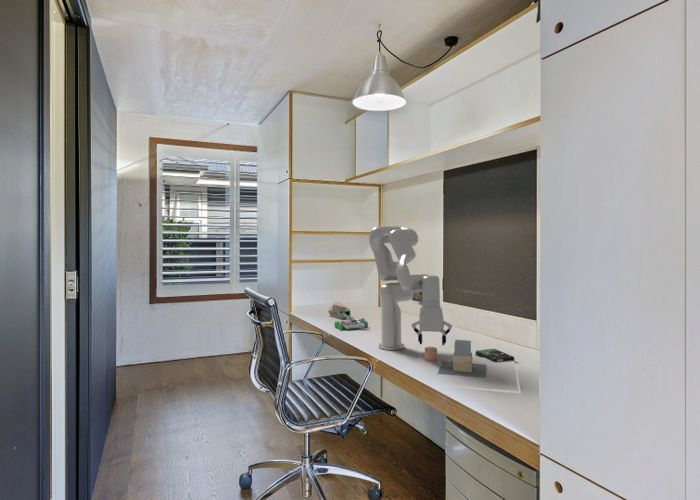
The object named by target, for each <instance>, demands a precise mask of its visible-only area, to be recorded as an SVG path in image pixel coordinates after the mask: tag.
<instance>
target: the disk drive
mask: <svg viewBox="0 0 700 500" xmlns="http://www.w3.org/2000/svg"><path fill="white" fill-rule="evenodd" d="M475 356H477V357H479V358H485V359H487V360H489V361H491V362H493V363H497V362H499V363H500V362H507V361H515V356H513V355H510V354H509V353H506V352H503V351H501V350H498V349H497V348H489V349H487V348H486V349H480V350H478V349H477V350H475Z"/></svg>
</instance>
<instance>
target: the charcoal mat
mask: <svg viewBox="0 0 700 500" xmlns="http://www.w3.org/2000/svg"><path fill="white" fill-rule="evenodd" d="M487 366H488V365H487V364H483V363H472V371H471V372H462V371H453V361H448V360H447V361H444V360H442V362H441V364H440V366H439V369H438V372H437V373H436V374H438V375H446V376H447V375H449V376H459V377H461V376H462V377H470V378H471V377H472V378H479V379H481V378H482V379H486V378H487V377H486V376H487Z"/></svg>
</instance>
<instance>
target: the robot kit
mask: <svg viewBox="0 0 700 500" xmlns="http://www.w3.org/2000/svg"><path fill="white" fill-rule="evenodd" d="M341 316H342V317H346V318H345V319H346V320H341V321H338V320H336V321H334V328H335V329H338V330H339V331H343V330H344V329H346V330H349V329H350V330H351V329H359V328H360V329H361V328H364V329H367V328H368V327H369V323H368V321H367V320H366V318H365V317H362V318H360V319H357V318H355V319H354V316H352V314H351V310H345V315H342V314H340V317H341Z"/></svg>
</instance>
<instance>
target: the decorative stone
mask: <svg viewBox="0 0 700 500" xmlns="http://www.w3.org/2000/svg"><path fill="white" fill-rule="evenodd" d="M331 305H332V306H330V307H329V309H328V311H327V312H328V314H329V316H330V317H332V318H337V319H347V318H346V317H342V316H341V317H340V314H342V315H345V310H350V308H349V307H348V306H347V305H345V304H343V303H342V302H340V301H339V302H338V301H337V302H334V303H333V304H331ZM350 311H351V310H350Z"/></svg>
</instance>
